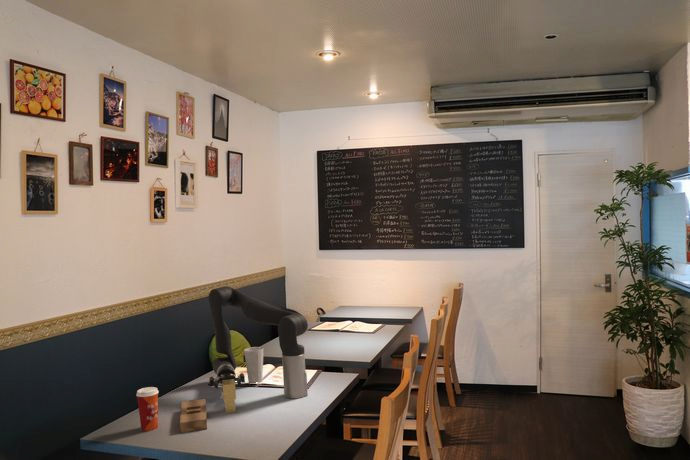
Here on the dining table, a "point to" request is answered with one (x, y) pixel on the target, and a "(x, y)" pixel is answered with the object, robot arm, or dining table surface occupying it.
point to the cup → (254, 364)
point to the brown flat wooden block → (193, 415)
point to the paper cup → (148, 408)
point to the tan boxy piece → (229, 395)
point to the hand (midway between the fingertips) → (227, 384)
